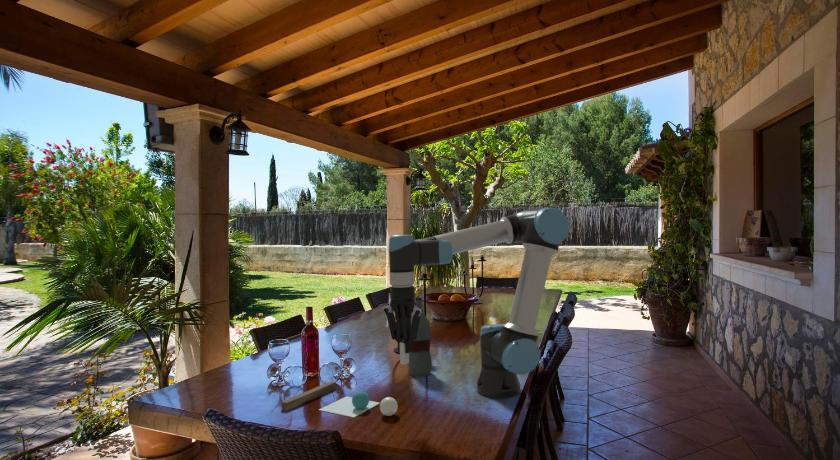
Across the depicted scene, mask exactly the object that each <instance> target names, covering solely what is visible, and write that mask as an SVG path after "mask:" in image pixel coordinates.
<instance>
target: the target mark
mask: <svg viewBox="0 0 840 460" xmlns="http://www.w3.org/2000/svg"><path fill="white" fill-rule="evenodd" d="M352 397H353V396H347V395H346V396H344V397H342V398H340V399H338V400H335V401H334V402H332V403H329V404H328V405H325V406H323V407H322V408H319V409H318V411H321V412H326V413H330V414H335V415H338V416H339V415H340V416H344V417H347V418H356V417H358V416H360V415H362V414H363V413H365V412H367V411H369V410H372V409H373V408H374V407H376V406H378V405H380V403H381V402H377V401H373V400H369V403H368V405H367V407H366V408H364V409H357V408H355V407H354V406H353V404H352Z"/></svg>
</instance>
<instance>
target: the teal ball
mask: <svg viewBox="0 0 840 460" xmlns="http://www.w3.org/2000/svg"><path fill="white" fill-rule="evenodd" d="M351 397H352V404H353V406H354V407H355V408H357V409H364V408H366V407H367V405H368V403H369V401H370V397H369V395H368V393H367V392H365V391H362V390H361V391H360V390H359V391H356V392H355V393H354V394H353V395H352V396H351Z"/></svg>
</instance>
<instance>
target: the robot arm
mask: <svg viewBox="0 0 840 460" xmlns="http://www.w3.org/2000/svg"><path fill="white" fill-rule="evenodd" d="M569 234H570V222H569V219H568V218H567V215H566V214H565V213H564V212H563V211H562V210H561V209H559V208H555V207H548V206H544V207H536V208H535V207H534V208H528V209H525V210H522V211H519V212H515V213H513V214H510V215H505V216H503V217H501V218H500V219H499V220H498V221H493V222H489V223H485V224H480V225H477V226H472V227H468V228H463V229H460V230H454V231H450V232H446V233H443V234H437V235H434V236H430V237H425V238H418V239H414V236H413V234H394V235H393V234H392V235H391V236H390V237H389V239H388V260H389V263H388V264H389V265H388V266H389V285H390V288H389V296H390V297H389V298H390V304H389V305H388V306H387V307H384V308H383V312H384V314H385V315H386V320H387V323H388V329H389V333H390V337H391V339H392V340H395V341H396V342H397V353H399V358H400V359H399V362H400V365H403V366H404V365H407V364H409V355H410V352H411V341H413V340H415V339H416V338H417V332H418V327H419V321H420V316H421V315H422V313H424V309H423V308H422V309H419V308H418V307H416V299H415V298H416V290H415V289H416V287H415V286H414V285H415V266H424V265H425V266H432V265H433V266H434V265H440V266H441V265H445V264H447V265H448V264H449V263H451V262H452V260H453V257H454V256H453V255H457V254H460V253H464V252H468V251H472V250H477V249H481V248H486V247H490V246H494V245H498V244H503V243H506V244H508V245H509V244H510V245H511V244H513V243H521V245H522V246H523V248H524V250H525V251H524V255H523V260H522V263H521V268H520V272H519V276H518V281H517V284H516V287H515V288H516V289H515V294H514V298H513V302H512V306H511V310H510V314H509V320H508V321H507V322H506V323H498V324H497V323H495V324H485V325H482V326H481V328H480V335H479V338H480V340H479V341H480V365H481V366H480V367H481V368H480V370H479V375H478V378H477V381H476V392H477V393H478V394H480V395H482V396H485V397H490V398H509V397H514V396H517V395H519V394H520V393H521V392H522V391H521V390H522V389H521V383H520V380H519V376H518V375H526V374H528V373H531V372H532V371H533V370H534V369H535V368H536V367H537V366H538V365H539V363H540V359H541V349H540V348H539V345H538V343H537V342H538V338H539V333H538V331H537V330H536V325H537V321H538V317H539V313H540V308H541V306H542V305H541V303H542V300H543V295H544V291H545V286H546V284H547V283H546V282H547V278H548V274H549V270H550V266H551V260H552V257H553V256H554V255H556V254H557V253H558V252H559V248H560V244H561V243H563V241H565V240H566V239H567V238H568V237H569ZM412 317H413V319H412V325H411V318H412Z"/></svg>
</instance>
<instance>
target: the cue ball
mask: <svg viewBox="0 0 840 460" xmlns="http://www.w3.org/2000/svg"><path fill="white" fill-rule="evenodd" d="M379 403H380V404H379V410H380V412H381V414H383V416H386V417H391V416H393V415H395V414H396V413H397V411H398V407H399V406H398V401H397V400H396V399H395V398H394V397H391V396H387V397H385V398H382V399H381V401H380V402H379Z"/></svg>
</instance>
